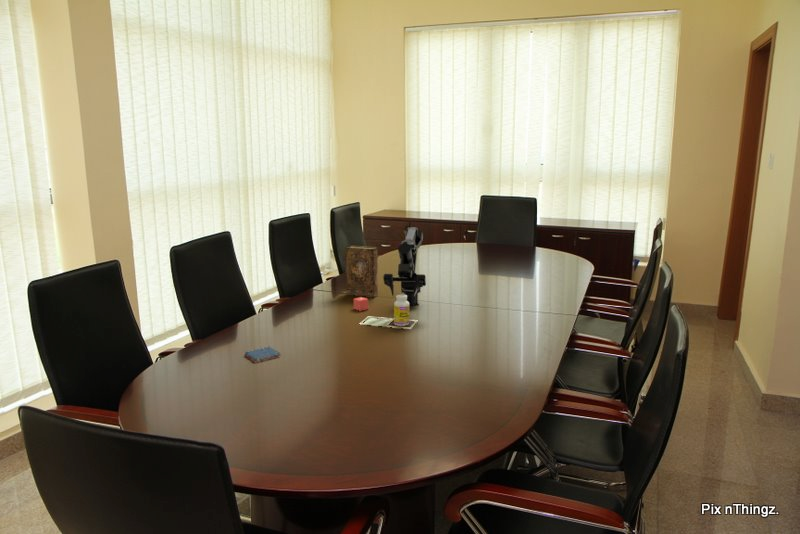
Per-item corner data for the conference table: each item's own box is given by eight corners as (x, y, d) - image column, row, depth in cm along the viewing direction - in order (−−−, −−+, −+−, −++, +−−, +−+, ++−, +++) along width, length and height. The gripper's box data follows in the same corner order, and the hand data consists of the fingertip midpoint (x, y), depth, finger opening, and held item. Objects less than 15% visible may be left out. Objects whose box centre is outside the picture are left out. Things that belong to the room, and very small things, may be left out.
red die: (362, 307, 291) (362, 295, 290) (368, 309, 288) (368, 297, 287) (353, 308, 288) (353, 297, 287) (359, 311, 285) (359, 299, 283)
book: (379, 295, 313) (378, 247, 308) (375, 297, 308) (374, 249, 303) (350, 292, 319) (349, 245, 314) (346, 294, 314) (344, 247, 309)
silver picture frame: (418, 321, 268) (418, 320, 268) (410, 329, 257) (410, 328, 257) (368, 317, 275) (368, 316, 275) (359, 324, 264) (359, 323, 264)
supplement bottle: (398, 327, 260) (398, 298, 257) (391, 323, 266) (391, 294, 263) (412, 325, 263) (412, 296, 260) (404, 321, 269) (404, 293, 266)
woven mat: (243, 356, 228) (242, 351, 227) (269, 350, 234) (269, 345, 234) (254, 364, 220) (254, 359, 219) (281, 358, 226) (281, 353, 226)
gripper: (383, 255, 270) (379, 285, 261) (425, 256, 267) (423, 287, 259) (386, 269, 279) (382, 298, 271) (427, 270, 277) (424, 300, 268)
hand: (403, 296), depth 267 cm, fingers open, 9 cm apart
